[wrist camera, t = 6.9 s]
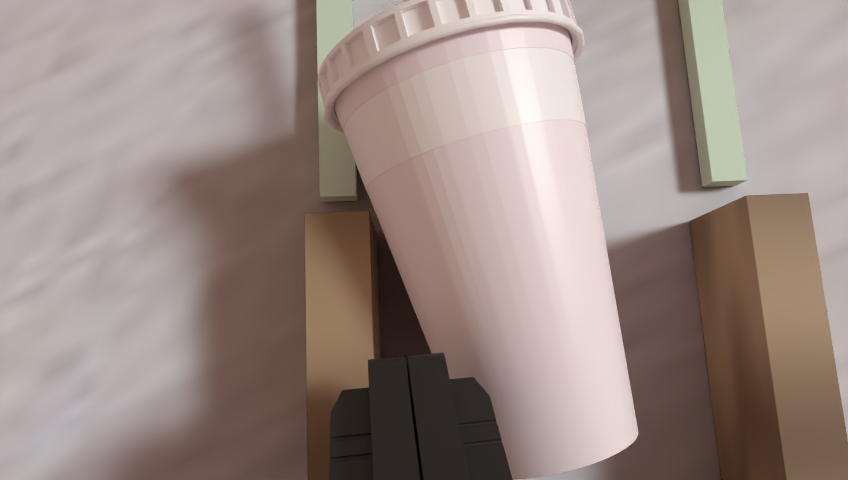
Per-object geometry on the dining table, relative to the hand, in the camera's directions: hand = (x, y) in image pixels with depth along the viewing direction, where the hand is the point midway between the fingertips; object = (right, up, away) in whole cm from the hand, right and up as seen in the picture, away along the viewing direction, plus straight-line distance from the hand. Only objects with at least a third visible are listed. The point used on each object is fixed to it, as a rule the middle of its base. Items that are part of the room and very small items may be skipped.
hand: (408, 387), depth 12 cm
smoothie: (+3, -2, +2) cm, 4 cm away
